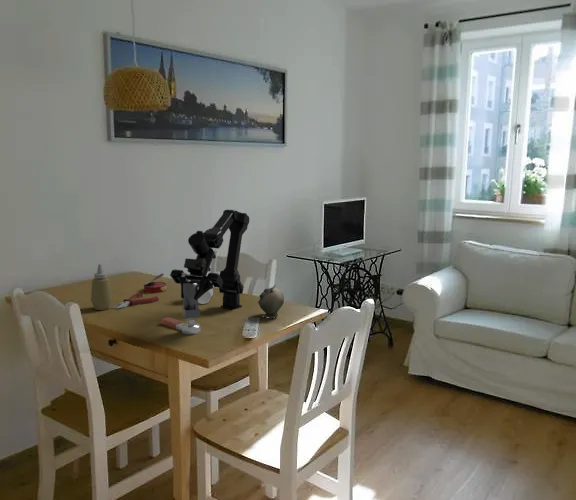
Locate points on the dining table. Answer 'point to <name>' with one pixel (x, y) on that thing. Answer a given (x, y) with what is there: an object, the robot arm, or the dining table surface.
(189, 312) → the socket
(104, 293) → the squeeze bottle
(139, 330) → the dining table surface
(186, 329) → the ratchet
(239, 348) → the dining table surface
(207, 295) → the spread jar
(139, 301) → the pliers
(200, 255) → the robot arm
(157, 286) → the canned food
